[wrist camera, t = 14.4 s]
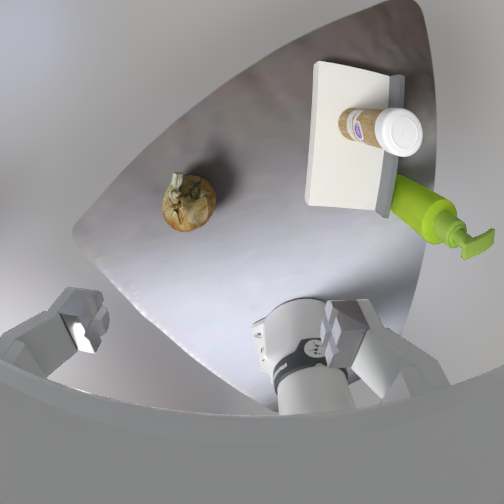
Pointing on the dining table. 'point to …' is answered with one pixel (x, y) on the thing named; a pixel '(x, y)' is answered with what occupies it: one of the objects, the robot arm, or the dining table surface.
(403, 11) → the dining table surface
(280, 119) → the dining table surface
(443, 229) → the soap dispenser
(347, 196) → the white slab
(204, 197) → the onion
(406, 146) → the sprinkles bottle
